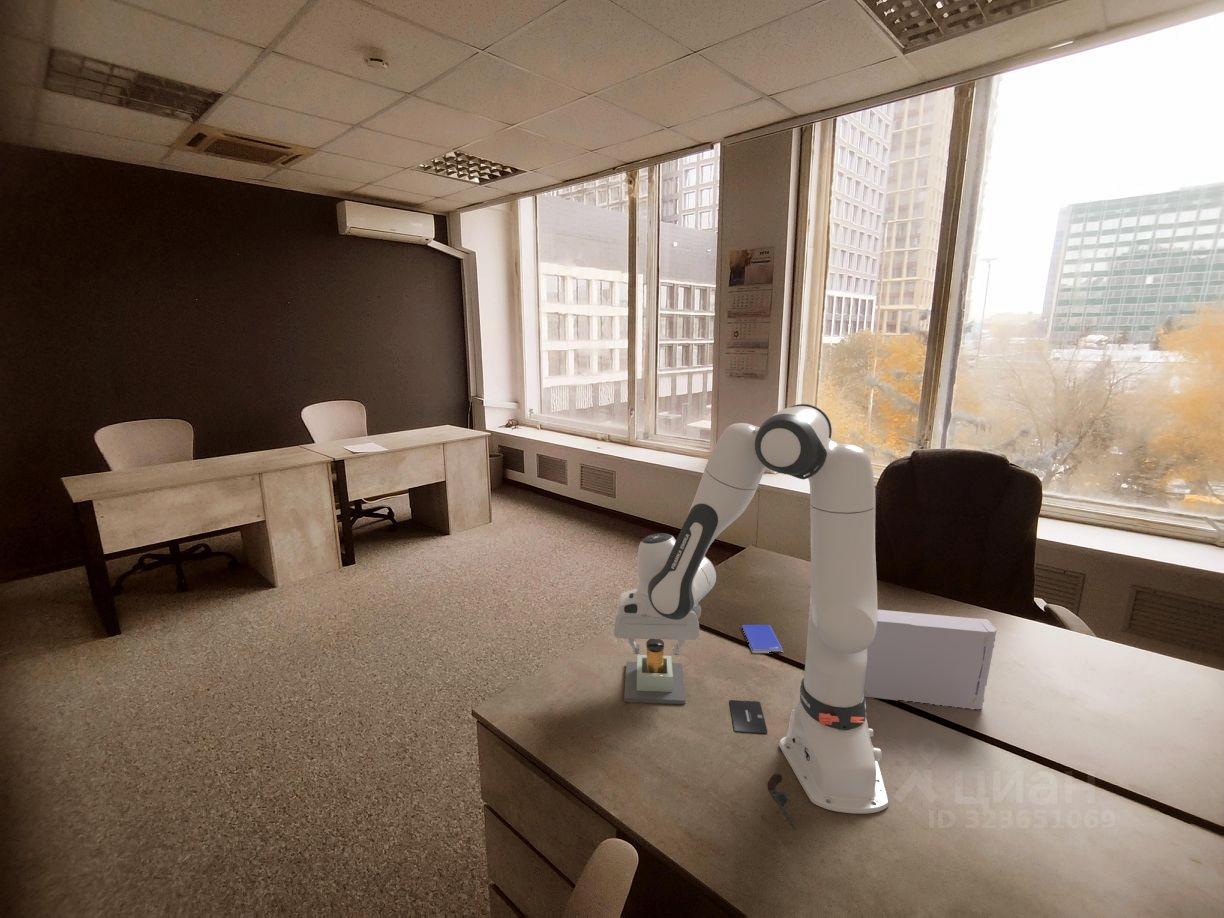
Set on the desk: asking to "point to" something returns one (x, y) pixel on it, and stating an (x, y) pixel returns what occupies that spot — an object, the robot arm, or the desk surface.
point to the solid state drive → (747, 717)
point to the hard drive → (761, 638)
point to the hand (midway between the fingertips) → (656, 653)
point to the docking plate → (654, 682)
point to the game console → (930, 659)
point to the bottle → (655, 655)
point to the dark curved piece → (778, 794)
